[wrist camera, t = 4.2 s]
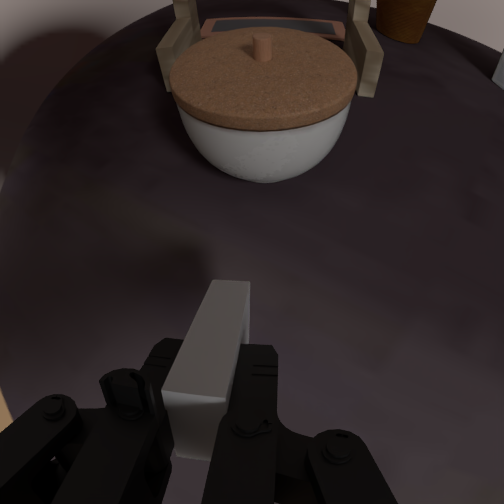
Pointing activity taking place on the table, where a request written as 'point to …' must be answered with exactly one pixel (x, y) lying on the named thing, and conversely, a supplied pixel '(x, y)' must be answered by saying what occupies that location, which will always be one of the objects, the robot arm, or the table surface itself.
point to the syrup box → (499, 72)
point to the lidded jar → (263, 100)
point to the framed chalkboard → (313, 26)
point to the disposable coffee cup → (403, 18)
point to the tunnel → (355, 46)
